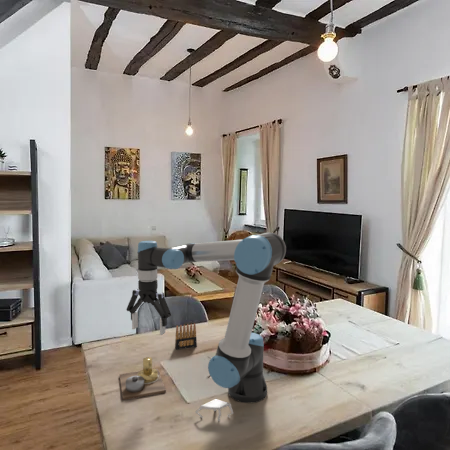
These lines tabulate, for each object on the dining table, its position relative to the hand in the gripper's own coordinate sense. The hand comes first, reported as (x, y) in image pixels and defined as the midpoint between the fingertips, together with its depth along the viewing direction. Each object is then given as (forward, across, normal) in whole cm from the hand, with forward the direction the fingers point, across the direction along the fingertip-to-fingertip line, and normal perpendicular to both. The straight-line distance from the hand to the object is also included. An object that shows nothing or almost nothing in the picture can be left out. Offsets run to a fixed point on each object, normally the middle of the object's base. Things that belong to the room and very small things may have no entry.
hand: (148, 331), depth 147 cm
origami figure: (+21, -34, +10) cm, 42 cm away
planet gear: (+20, 0, 0) cm, 20 cm away
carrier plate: (+21, +1, +4) cm, 21 cm away
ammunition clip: (+21, +3, -34) cm, 40 cm away
